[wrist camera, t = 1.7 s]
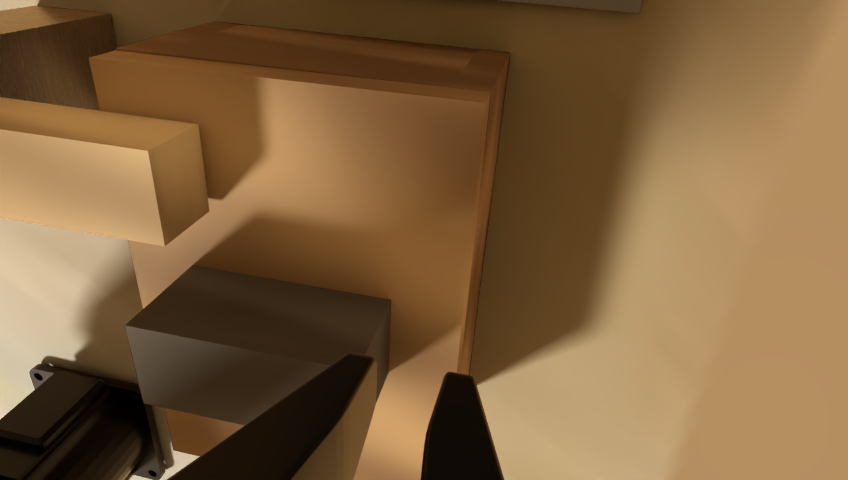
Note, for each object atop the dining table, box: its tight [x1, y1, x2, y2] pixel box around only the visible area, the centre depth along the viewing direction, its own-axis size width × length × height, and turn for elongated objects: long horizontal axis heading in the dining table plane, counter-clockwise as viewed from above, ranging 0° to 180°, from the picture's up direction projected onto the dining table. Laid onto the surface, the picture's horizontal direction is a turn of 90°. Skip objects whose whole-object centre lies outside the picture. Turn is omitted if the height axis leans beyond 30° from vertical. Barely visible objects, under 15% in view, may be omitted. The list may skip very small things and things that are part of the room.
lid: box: [89, 50, 491, 480], centre depth 17 cm, size 14×10×5 cm
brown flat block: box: [116, 22, 510, 375], centre depth 20 cm, size 14×10×5 cm
